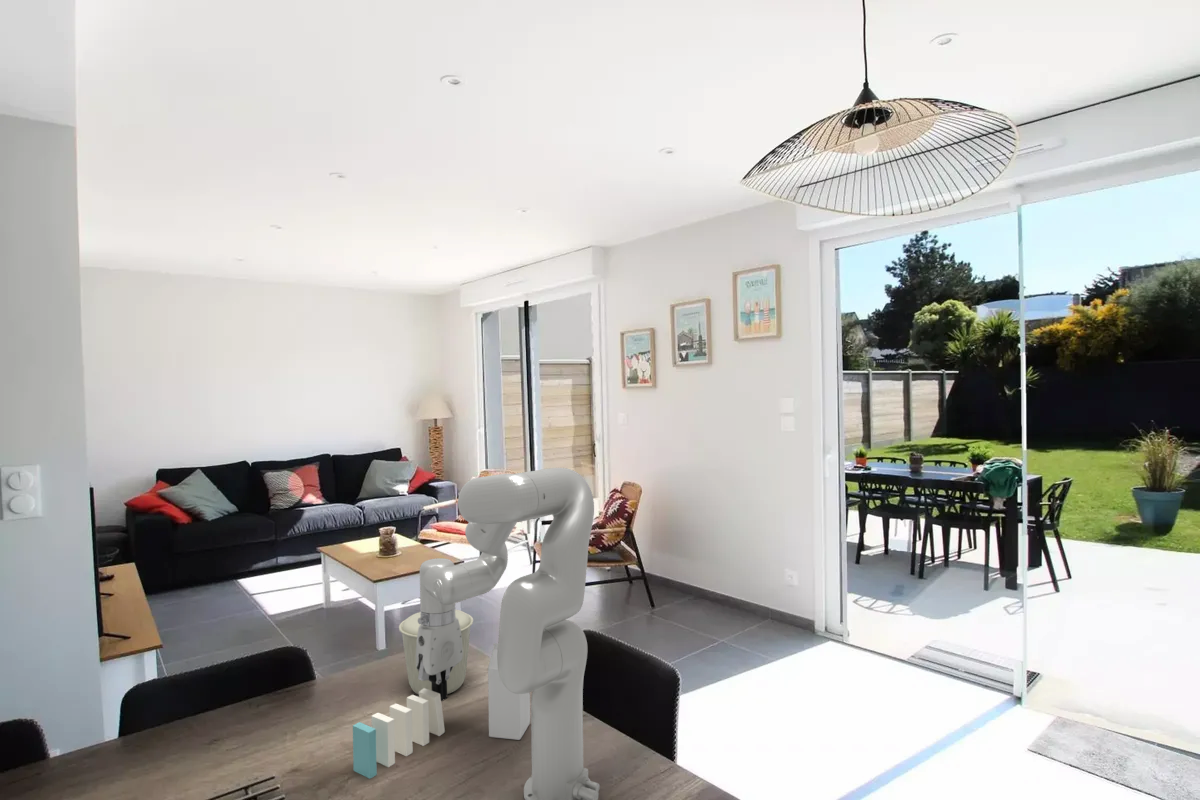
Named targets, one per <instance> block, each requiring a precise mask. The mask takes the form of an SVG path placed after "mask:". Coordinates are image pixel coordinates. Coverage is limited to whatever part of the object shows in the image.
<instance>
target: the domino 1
mask: <svg viewBox="0 0 1200 800" xmlns="http://www.w3.org/2000/svg"><path fill="white" fill-rule="evenodd" d="M352 748H353V749H352V757H353V760H352V762H353V772H355V773H356V774H360V775H361V776H364V777H365V778H367V779H370V780H371V779H372V778H374V777H375V776H377V775H378V772H377V762H376V729H375V728H372V726H369V725H367V724H365V723H364V722H360V721H359V722H357V723H355V724H353V725H352Z"/></svg>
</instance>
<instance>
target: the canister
mask: <svg viewBox="0 0 1200 800" xmlns="http://www.w3.org/2000/svg"><path fill="white" fill-rule="evenodd" d="M455 616H456V618H458V621H459V624H460V629H461V636H462V647H463V657H462V660H461V661H460V662H459V663H458V664H457V665H456V666H454V667H453V668H452V670H451V672H450V676H449V679H448V680H447V695H450V694H452V693H454V692H455V691H457V690H458V689H460V687H461V686H463V683H464V681H465V679H466V674H467V666H468V657H469V646H470V636H471V626H472V625H473V624H474V618H473V616H472V615H470V614H469V613H466V612H464V611H463V610H459V609H457V608H455ZM418 618H420V611H419V612H416V613H413V614H411V615H410V616H408V617H407V618H406V619H404V620H402V621H401V622H400V623H399V625H398V630H399V633H401V636H402V644H403V652H404V660H405V666H406V674H407V679H408V680H407V681H408V684H409V687H410V688H411V690H412V691H413V692H414V693H415V694H416V695H419V691H421V690H422V689H423V688H425V689H428V690H431V691H432V683H431V682H430V681H429V680H425V681H422V680H419V679H418V675H419V671H418V670H417V668H416V643H417V635H418V629H419V626H420V625H421V624H419V623H418Z"/></svg>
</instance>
